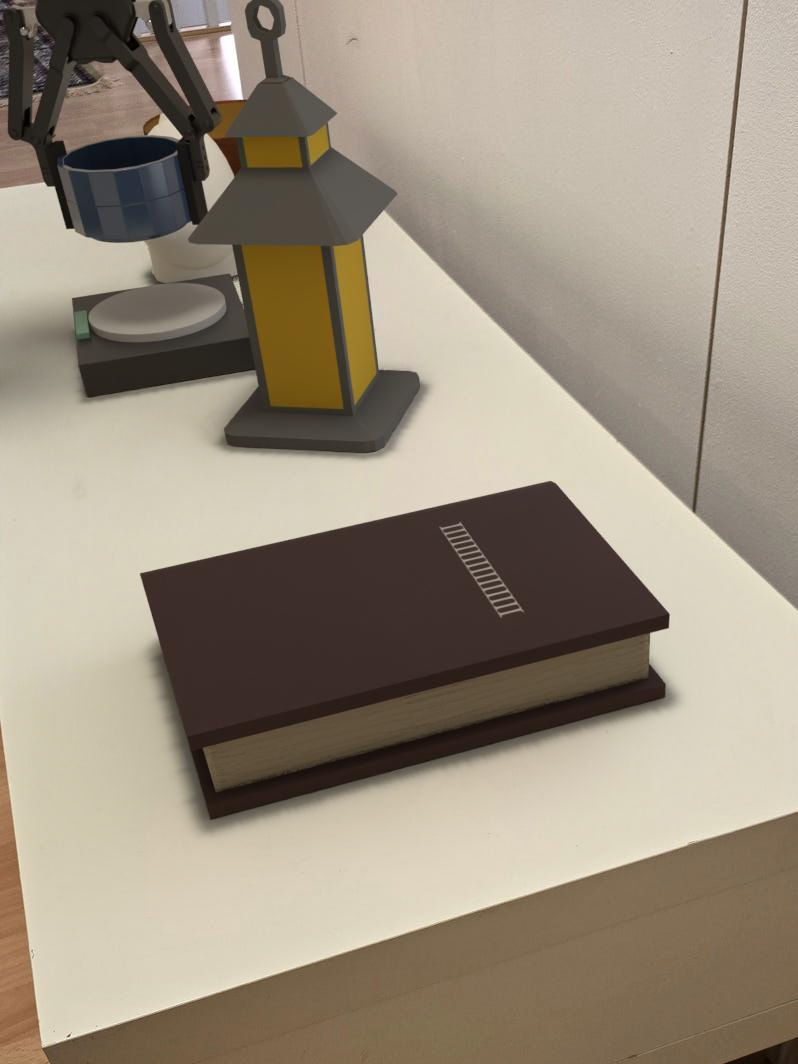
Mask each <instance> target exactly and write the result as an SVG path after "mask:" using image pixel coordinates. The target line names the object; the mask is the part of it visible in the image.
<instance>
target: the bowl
mask: <svg viewBox="0 0 798 1064" xmlns="http://www.w3.org/2000/svg"><path fill="white" fill-rule="evenodd" d="M247 100H248V99H226V100H217V101H215V100H214V102H215V104H216V106H217V108H218V110H219V112H220V114H221V122H220V124H219V125H218V126H217V127H216V128H215V129H214V130H213V131H212V132H208V133H207V134H208V135H209V136H210V137H211V139H212V140H213V141H214V142H215V143H216V144H217V145H218V147H219V149H220V150H221V152H222V153H223V155H224V156H225V158H226V159H227V162H228V164H229V166H230V168H231V170H232V172H233V174H234V177H235V176H236V174H237V173H238V171H239V170H240V168H241V164H240V158H239V153H238V147H237V141H236V137H225V134H226V132H227V130H228V129H229V127H230V126H231V124H232V123H233V121H234V120H235V118H236V117H237V115H238V113H239V112H240V110H241V109H242V107H243V106H244V104H245V103H246V101H247ZM188 106H189V107H190V105H188ZM190 108H191V107H190ZM191 110H192V108H191ZM192 111H193V110H192ZM162 113H163V112H162ZM162 113H159V114H157V115H155V116H152V117H151V118H150V119H147V121H145V123H144V124H143V126H142V131H143V135H148V133H149V132H150V131H151V130H152V129H153V128H154V127H155V126H156V125H158V124H159V119H160V114H162Z"/></svg>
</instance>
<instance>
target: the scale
mask: <svg viewBox="0 0 798 1064" xmlns="http://www.w3.org/2000/svg"><path fill="white" fill-rule="evenodd" d="M71 305H72V315H73V324H74V335H75V336H74V337H75V345H76V356H77V366H78V370H79V372H80V376H81V380H82V383H83V386H84V391H85V393H86V397H88V398H91V397H98V396H102V395H103V396H104V395H109V394H114V393H115V394H116V393H121V392H127V391H132V390H140V389H146V388H150V387H156V386H161V385H167V384H175V383H180V382H186V381H192V380H197V379H198V380H199V379H205V378H210V377H215V376H221V375H227V374H232V373H233V374H234V373H240V372H244V371H250V370H255V364H254V359H253V354H252V348H251V343H250V338H249V332H248V327H247V322H246V316H245V311H244V306H243V302H242V301H241V298H240V295H239V293H238V291H237V287H236V285H235V283H234V280H233V276H232V277H231V275H230V274H223V275H216V276H210V277H204V278H197V279H191V280H184V281H178V282H171V283H160V284H159V283H158V284H152V285H146V286H140V287H133V288H126V289H120V290H115V291H107V292H102V293H95V294H89V295H82V296H75V297H72V298H71Z"/></svg>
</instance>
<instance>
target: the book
mask: <svg viewBox="0 0 798 1064" xmlns="http://www.w3.org/2000/svg"><path fill="white" fill-rule="evenodd" d="M139 575H140V576H139V577H140V579H141V583H142V587H143V590H144V593H145V596H146V600H147V604H148V608H149V611H150V614H151V619H152V621H153V625H154V628H155V632H156V635H157V639H158V642H159V645H160V649H161V652H162V656H163V660H164V662H165V666H166V669H167V673H168V677H169V680H170V684H171V687H172V691H173V694H174V698H175V701H176V704H177V708H178V711H179V714H180V718H181V722H182V726H183V729H184V733H185V736H186V739H187V743H188V747H189V749H190V754H191V757H192V761H193V764H194V767H195V771H196V774H197V778H198V781H199V784H200V788H201V792H202V795H203V798H204V802H205V805H206V808H207V813H208V815H209V819H210V820H213V819H217V818H221V817H223V816H224V817H225V816H228V815H231V814H235V813H239V812H244V811H246V810H250V809H255V808H257V807H262V806H265V805H268V804H273V803H276V802H281V801H284V800H288V799H291V798H294V797H299V796H302V795H306V794H309V793H313V792H318V791H320V790H321V791H322V790H325V789H328V788H332V787H336V786H340V785H343V784H347V783H349V782H350V783H351V782H354V781H358V780H361V779H366V778H368V777H372V776H373V777H374V776H377V775H381V774H384V773H387V772H393V771H395V770H399V769H402V768H406V767H410V766H414V765H417V764H421V763H425V762H428V761H429V762H430V761H433V760H436V759H439V758H444V757H447V756H451V755H455V754H458V753H462V752H465V751H470V750H473V749H477V748H481V747H484V746H488V745H492V744H496V743H499V742H503V741H507V740H511V739H514V738H517V737H522V736H525V735H530V734H533V733H536V732H540V731H544V730H547V729H552V728H555V727H559V726H562V725H563V726H564V725H567V724H569V723H574V722H576V721H581V720H585V719H588V718H591V717H596V716H599V715H603V714H607V713H611V712H615V711H618V710H622V709H626V708H630V707H633V706H636V705H637V706H638V705H641V704H644V703H647V702H651V701H655V700H659V699H663V698H666V687H667V686H666V685H667V684H666V682H665V681H664V679H662V677H661V676H660V675H659V673H658V672H657V671H656V670H655V668H654V667H653V666H652V665H651V663H650V649H651V648H650V647H651V634H652V633H656V632H660V631H664V630H667V629H670V616H671V614H670V612H669V611H668V609H666V607H665V606H664V605H663V604H662V603H661V602H660V601H659V599H657V597H656V596H655V595H654V593H652V592H651V590H650V589H648V587H647V586H646V585H645V583H643V581H642V580H641V579H640V578H639V577H638V576H637V575H636V573H635V572H634V571H633V570H632V568H631V567H630V566H629V565H628V564H627V563H626V562H625V561H624V559H623V558H622V557H621V556H620V555H619V554H618V552H616V550H615V549H614V548H613V546H611V545H610V543H608V541H607V540H606V539H605V538H604V537H603V535H602V534H601V533H600V532H599V531H598V530H597V528H596V527H594V525H593V524H592V523H591V522H590V521H589V519H588V518H587V517H586V516H585V515H584V514H583V512H582V511H581V510H580V509H579V508H578V507H577V506H576V505H575V504H574V502H573V501H572V500H571V499H570V498H569V496H568V495H567V494H566V493H565V492H564V491H563V490H562V488H561V487H560V486H559V485H558V484H557V482H554V481H552V480H548V481H547V480H546V481H543V482H538V483H534V484H529V485H526V486H521V487H517V488H511V489H507V490H504V491H498V492H494V493H490V494H485V495H481V496H475V497H472V498H468V499H463V500H458V501H454V502H449V503H446V504H441V505H436V506H432V507H428V508H423V509H419V510H414V511H411V512H406V513H401V514H397V515H392V516H387V517H384V518H380V519H374V520H369V521H366V522H362V523H357V524H352V525H348V526H343V527H339V528H335V529H334V528H333V529H330V530H326V531H325V530H324V531H321V532H317V533H313V534H307V535H302V536H299V537H294V538H289V539H285V540H281V541H277V542H272V543H268V544H264V545H259V546H255V547H250V548H246V549H242V550H237V551H233V552H229V553H225V554H219V555H213V556H210V557H206V558H202V559H197V560H193V561H188V562H183V563H179V564H175V565H171V566H165V567H161V568H157V569H153V570H149V571H144V572H140V573H139Z"/></svg>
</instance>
